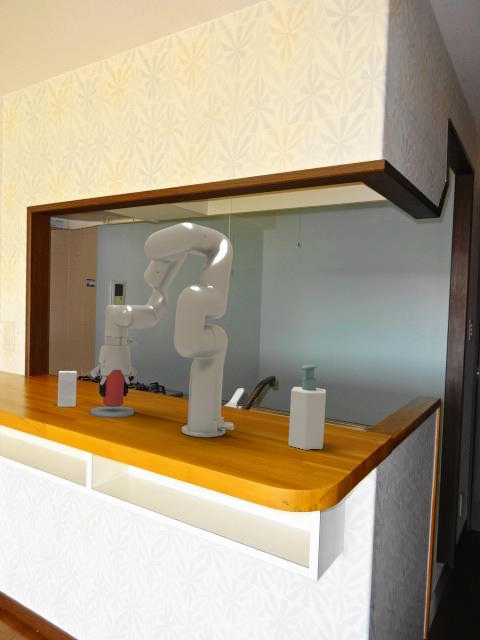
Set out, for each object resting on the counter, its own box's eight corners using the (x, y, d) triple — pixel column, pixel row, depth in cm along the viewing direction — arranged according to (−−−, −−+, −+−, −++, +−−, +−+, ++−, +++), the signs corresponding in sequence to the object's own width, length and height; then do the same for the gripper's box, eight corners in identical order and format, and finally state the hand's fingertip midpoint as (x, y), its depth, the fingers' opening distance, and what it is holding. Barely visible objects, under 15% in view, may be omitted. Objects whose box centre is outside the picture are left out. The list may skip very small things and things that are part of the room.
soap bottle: (280, 444, 136) (285, 364, 135) (300, 439, 142) (304, 362, 142) (312, 452, 129) (317, 368, 129) (330, 446, 136) (335, 366, 135)
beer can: (117, 407, 160) (119, 370, 160) (99, 406, 161) (100, 369, 161) (126, 404, 167) (128, 368, 166) (108, 402, 168) (110, 367, 168)
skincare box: (75, 404, 176) (77, 370, 175) (75, 406, 171) (77, 372, 171) (57, 404, 174) (58, 370, 173) (56, 407, 170) (58, 372, 169)
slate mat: (141, 411, 169) (141, 408, 169) (120, 419, 155) (120, 416, 155) (105, 407, 173) (105, 404, 173) (81, 414, 159) (81, 411, 159)
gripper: (138, 341, 171) (135, 393, 171) (86, 340, 163) (84, 395, 163) (145, 343, 164) (142, 397, 165) (91, 342, 156) (89, 398, 156)
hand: (113, 395), depth 164 cm, fingers closed on beer can, 6 cm apart
